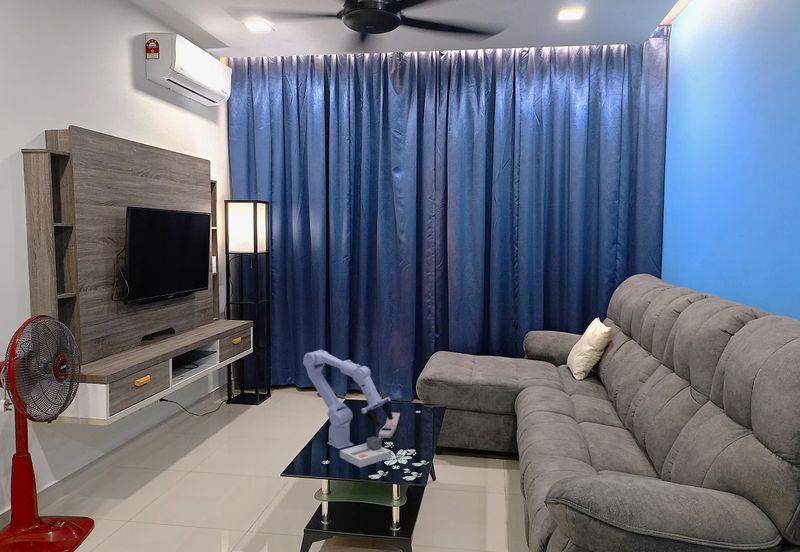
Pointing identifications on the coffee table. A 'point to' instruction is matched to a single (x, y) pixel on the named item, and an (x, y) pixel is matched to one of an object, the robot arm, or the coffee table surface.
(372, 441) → the switch lever
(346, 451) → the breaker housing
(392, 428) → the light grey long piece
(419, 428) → the coffee table surface
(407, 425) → the coffee table surface
